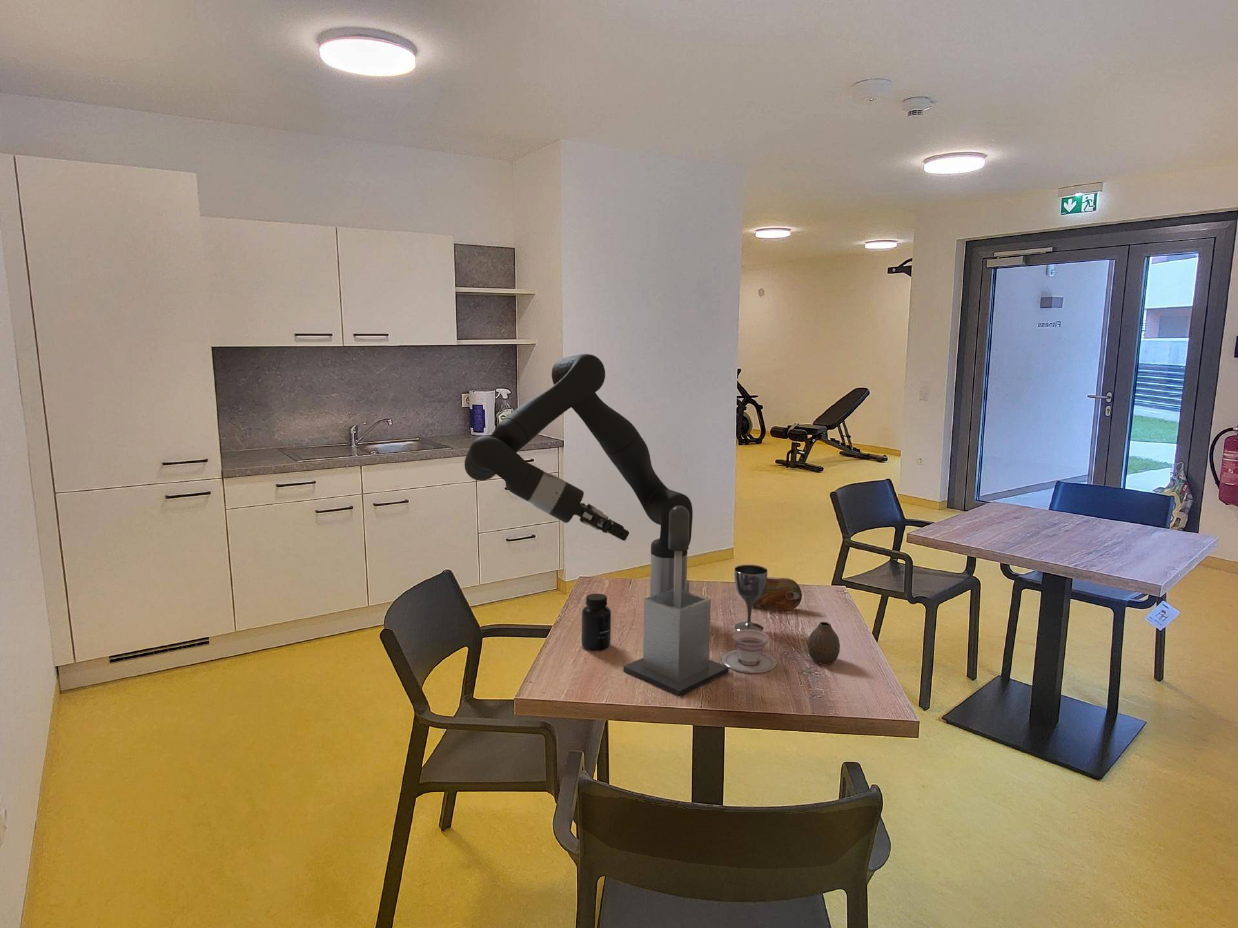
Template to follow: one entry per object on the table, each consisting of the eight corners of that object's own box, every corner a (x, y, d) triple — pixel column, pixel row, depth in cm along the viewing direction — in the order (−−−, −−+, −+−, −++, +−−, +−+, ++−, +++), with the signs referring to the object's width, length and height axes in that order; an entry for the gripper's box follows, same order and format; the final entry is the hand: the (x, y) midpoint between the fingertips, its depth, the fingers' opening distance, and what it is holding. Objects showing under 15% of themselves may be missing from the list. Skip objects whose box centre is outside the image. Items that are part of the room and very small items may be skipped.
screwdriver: (675, 610, 166) (677, 500, 161) (702, 620, 160) (706, 506, 156) (651, 619, 160) (652, 505, 156) (678, 630, 155) (681, 511, 151)
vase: (839, 656, 170) (842, 620, 169) (838, 669, 164) (840, 631, 162) (808, 652, 173) (810, 616, 171) (805, 664, 166) (807, 627, 165)
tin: (743, 607, 201) (744, 577, 200) (743, 603, 204) (745, 573, 203) (801, 612, 198) (802, 581, 196) (801, 608, 201) (802, 577, 199)
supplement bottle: (607, 653, 172) (607, 602, 170) (578, 650, 173) (578, 600, 171) (613, 641, 178) (613, 592, 176) (585, 638, 180) (585, 590, 177)
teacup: (773, 677, 160) (774, 650, 159) (717, 670, 164) (718, 643, 163) (778, 655, 171) (780, 629, 170) (726, 648, 175) (727, 623, 174)
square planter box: (672, 650, 173) (674, 581, 171) (728, 672, 162) (730, 599, 159) (623, 671, 162) (623, 598, 159) (679, 696, 151) (681, 618, 148)
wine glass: (729, 630, 185) (731, 572, 182) (736, 619, 192) (738, 563, 190) (761, 635, 182) (763, 576, 179) (767, 624, 189) (770, 566, 187)
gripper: (566, 483, 147) (638, 521, 149) (563, 479, 162) (628, 514, 164) (548, 516, 147) (620, 555, 149) (546, 509, 161) (611, 545, 163)
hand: (624, 533), depth 156 cm, fingers open, 8 cm apart
